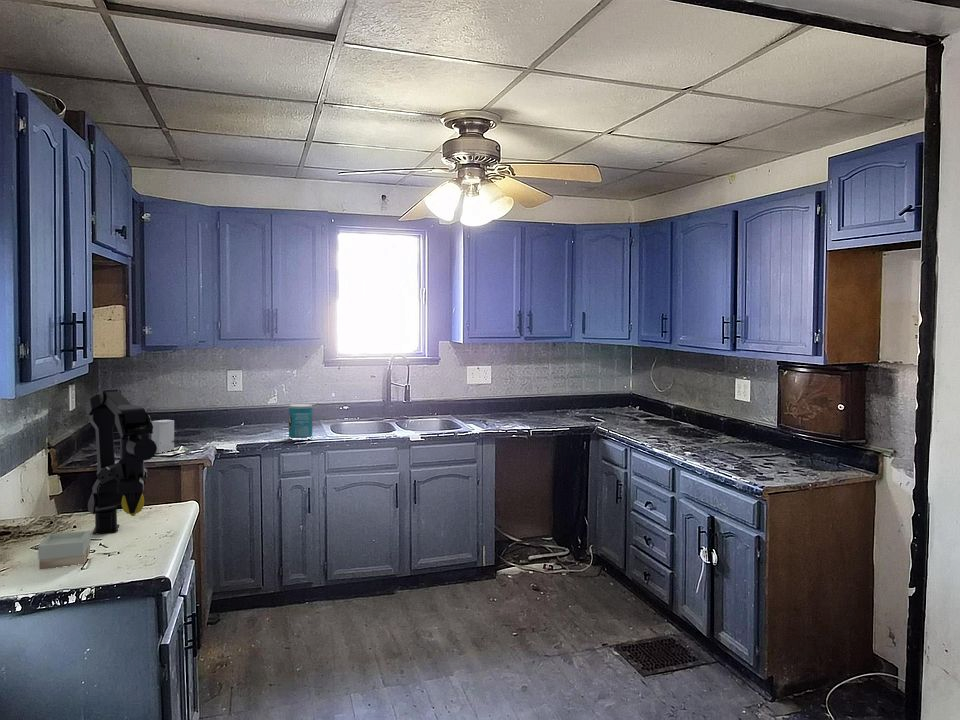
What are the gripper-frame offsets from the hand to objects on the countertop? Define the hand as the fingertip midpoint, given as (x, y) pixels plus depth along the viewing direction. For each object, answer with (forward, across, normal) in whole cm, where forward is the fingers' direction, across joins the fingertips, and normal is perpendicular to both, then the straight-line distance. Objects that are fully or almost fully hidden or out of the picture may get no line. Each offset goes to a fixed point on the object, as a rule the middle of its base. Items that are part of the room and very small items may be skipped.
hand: (132, 510), depth 187 cm
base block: (+12, +2, -16) cm, 20 cm away
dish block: (+9, +2, -16) cm, 18 cm away
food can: (+12, -157, +67) cm, 171 cm away
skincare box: (+12, -141, +2) cm, 142 cm away
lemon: (+2, 0, 0) cm, 2 cm away
